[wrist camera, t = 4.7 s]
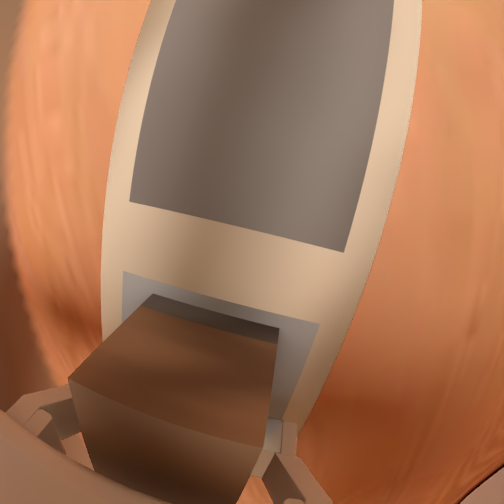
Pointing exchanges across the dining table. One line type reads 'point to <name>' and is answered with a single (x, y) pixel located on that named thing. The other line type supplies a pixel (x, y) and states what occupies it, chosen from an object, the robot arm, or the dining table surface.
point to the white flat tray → (260, 168)
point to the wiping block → (178, 401)
